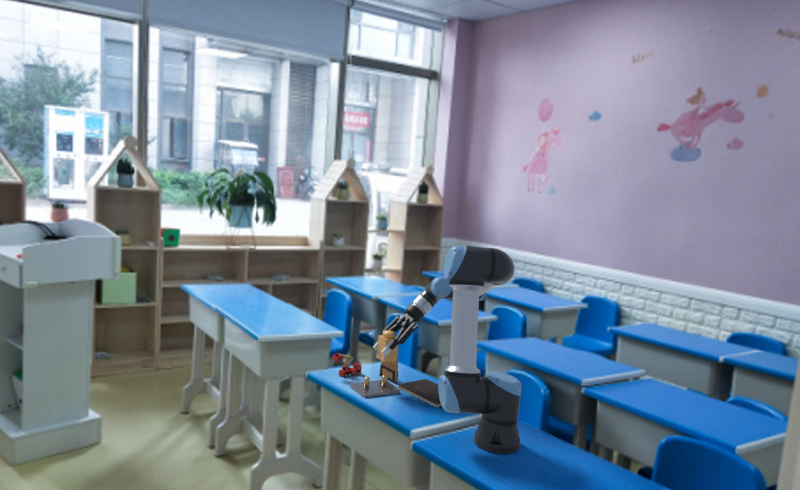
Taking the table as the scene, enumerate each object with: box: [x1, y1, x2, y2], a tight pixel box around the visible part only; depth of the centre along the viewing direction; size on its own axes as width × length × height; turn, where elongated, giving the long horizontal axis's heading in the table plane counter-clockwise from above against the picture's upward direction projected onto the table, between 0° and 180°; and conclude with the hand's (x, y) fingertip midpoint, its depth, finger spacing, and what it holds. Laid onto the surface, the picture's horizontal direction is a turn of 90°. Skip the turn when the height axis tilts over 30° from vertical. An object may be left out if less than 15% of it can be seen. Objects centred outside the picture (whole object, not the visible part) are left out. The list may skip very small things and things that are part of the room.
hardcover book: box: [397, 378, 442, 408], centre depth 242 cm, size 16×23×2 cm
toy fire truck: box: [331, 352, 363, 378], centre depth 255 cm, size 3×14×10 cm, turn 130°
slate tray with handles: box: [349, 375, 401, 398], centre depth 240 cm, size 12×16×6 cm
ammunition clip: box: [379, 354, 399, 384], centre depth 255 cm, size 11×2×12 cm, turn 37°
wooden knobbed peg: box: [376, 330, 399, 362], centre depth 241 cm, size 6×6×11 cm
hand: (379, 351), depth 239 cm, fingers closed on wooden knobbed peg, 6 cm apart
